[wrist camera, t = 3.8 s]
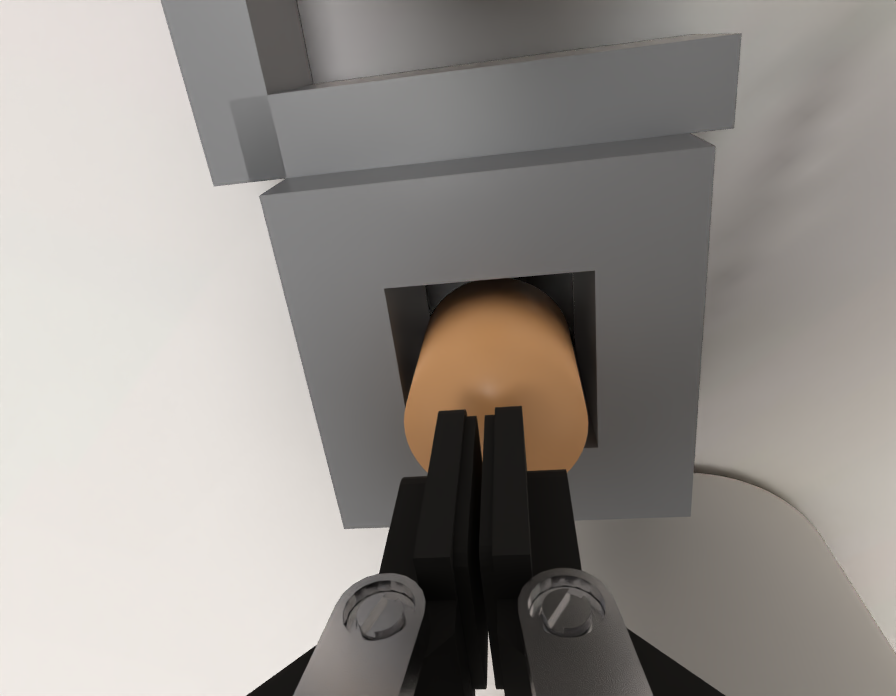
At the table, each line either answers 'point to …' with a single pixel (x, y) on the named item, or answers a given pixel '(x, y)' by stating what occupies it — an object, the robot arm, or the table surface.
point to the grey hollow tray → (478, 227)
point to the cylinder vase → (741, 595)
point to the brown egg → (500, 370)
